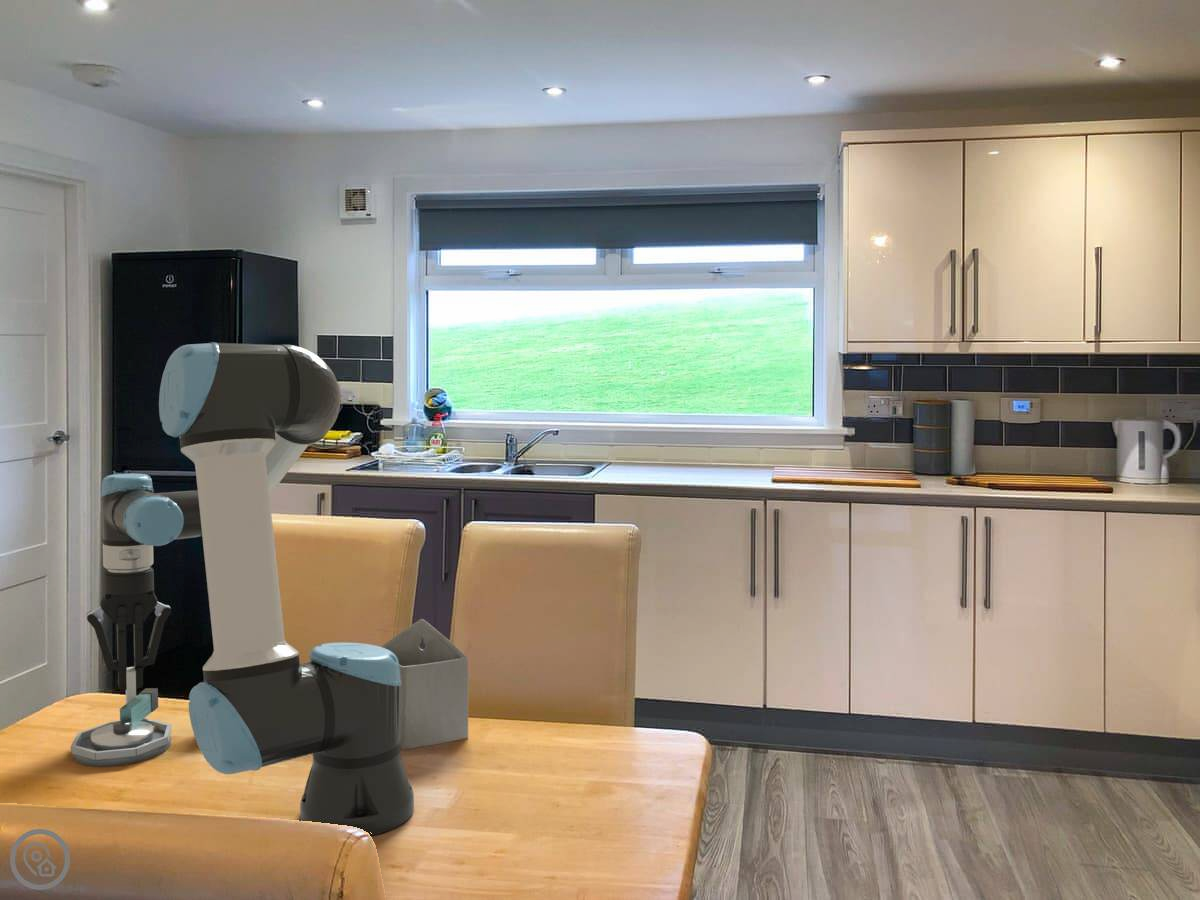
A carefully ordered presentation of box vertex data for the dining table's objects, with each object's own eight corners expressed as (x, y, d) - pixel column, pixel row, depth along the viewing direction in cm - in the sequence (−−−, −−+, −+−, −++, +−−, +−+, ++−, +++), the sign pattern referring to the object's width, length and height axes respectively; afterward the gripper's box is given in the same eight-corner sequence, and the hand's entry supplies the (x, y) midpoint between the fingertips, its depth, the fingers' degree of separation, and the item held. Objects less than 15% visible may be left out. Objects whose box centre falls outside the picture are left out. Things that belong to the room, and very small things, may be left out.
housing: (190, 742, 164) (189, 728, 163) (113, 773, 151) (112, 758, 151) (131, 727, 170) (131, 714, 170) (53, 755, 158) (52, 741, 158)
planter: (356, 744, 164) (354, 627, 162) (379, 727, 171) (378, 615, 170) (449, 755, 159) (449, 634, 158) (469, 737, 167) (468, 622, 165)
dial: (138, 750, 156) (137, 721, 156) (79, 750, 156) (78, 720, 156) (179, 715, 172) (178, 688, 171) (126, 715, 172) (125, 688, 171)
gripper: (85, 575, 160) (88, 721, 162) (173, 569, 166) (175, 709, 168) (83, 566, 166) (86, 706, 168) (168, 560, 173) (170, 695, 175)
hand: (131, 707), depth 168 cm, fingers closed
